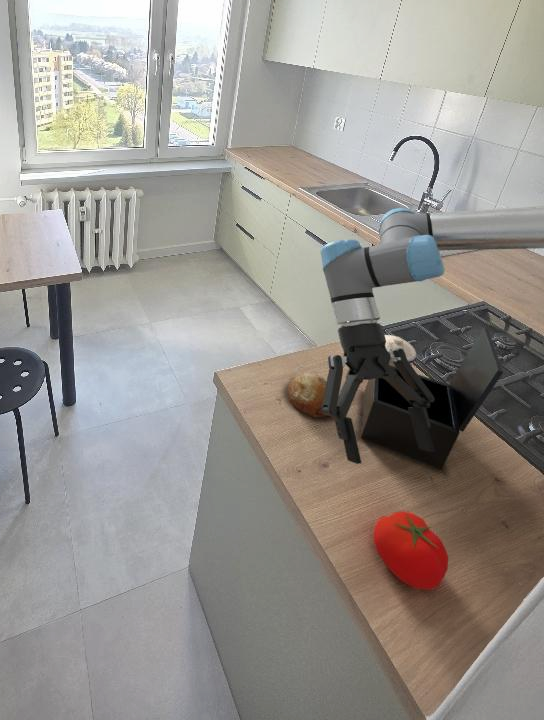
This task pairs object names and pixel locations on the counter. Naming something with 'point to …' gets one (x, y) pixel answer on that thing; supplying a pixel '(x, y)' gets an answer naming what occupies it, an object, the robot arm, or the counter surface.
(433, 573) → the tomato
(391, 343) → the teacup with lid
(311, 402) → the bread roll
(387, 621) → the counter surface
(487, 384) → the bin lid
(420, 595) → the counter surface
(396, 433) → the black open box
